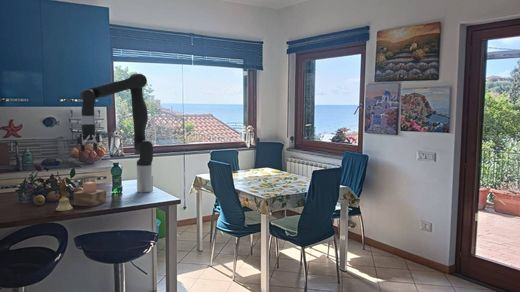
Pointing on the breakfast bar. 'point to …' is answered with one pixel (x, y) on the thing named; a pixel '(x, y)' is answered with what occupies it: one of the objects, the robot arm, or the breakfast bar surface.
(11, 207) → the breakfast bar surface
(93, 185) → the terracotta cube
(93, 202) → the walnut block
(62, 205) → the hand bell
